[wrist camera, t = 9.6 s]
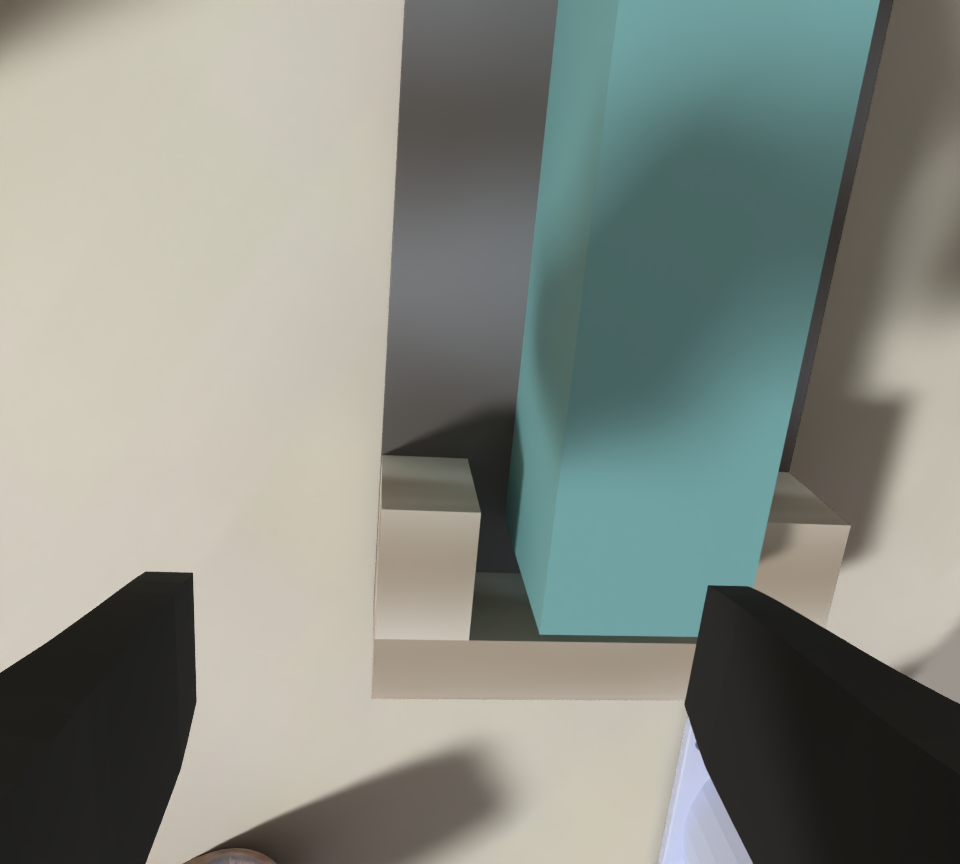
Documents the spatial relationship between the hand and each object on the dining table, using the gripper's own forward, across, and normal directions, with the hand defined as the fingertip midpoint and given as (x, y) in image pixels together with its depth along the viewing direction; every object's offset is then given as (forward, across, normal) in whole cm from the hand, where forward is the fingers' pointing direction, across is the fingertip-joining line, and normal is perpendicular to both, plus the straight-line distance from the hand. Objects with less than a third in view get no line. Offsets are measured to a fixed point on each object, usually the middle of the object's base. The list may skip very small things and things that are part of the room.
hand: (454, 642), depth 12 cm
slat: (+8, -4, -6) cm, 11 cm away
